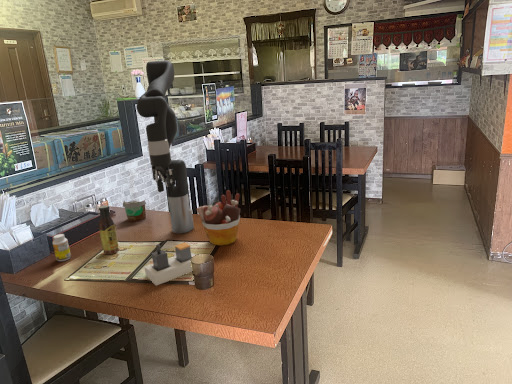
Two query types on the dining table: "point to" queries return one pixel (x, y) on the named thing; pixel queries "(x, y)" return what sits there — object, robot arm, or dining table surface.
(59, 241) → the supplement bottle
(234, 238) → the bucket of meat
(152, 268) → the white rectangular frame
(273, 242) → the dining table surface
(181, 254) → the plug
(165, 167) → the robot arm
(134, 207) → the food container
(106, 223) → the sauce bottle
